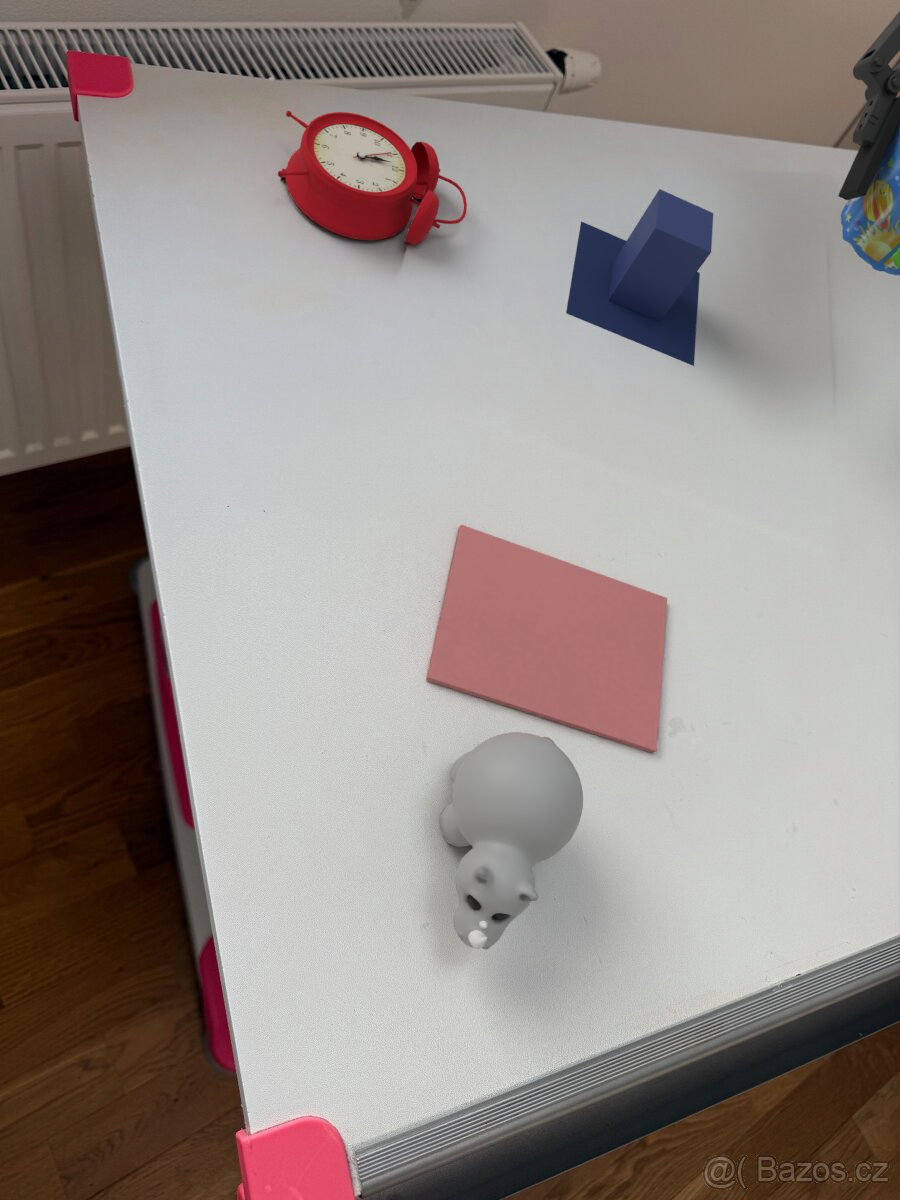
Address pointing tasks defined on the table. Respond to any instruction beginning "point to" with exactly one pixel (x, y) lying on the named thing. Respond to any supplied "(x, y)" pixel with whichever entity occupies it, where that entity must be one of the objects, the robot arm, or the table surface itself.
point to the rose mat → (551, 640)
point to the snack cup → (878, 215)
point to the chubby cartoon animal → (507, 827)
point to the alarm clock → (364, 179)
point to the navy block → (661, 255)
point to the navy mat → (595, 308)
